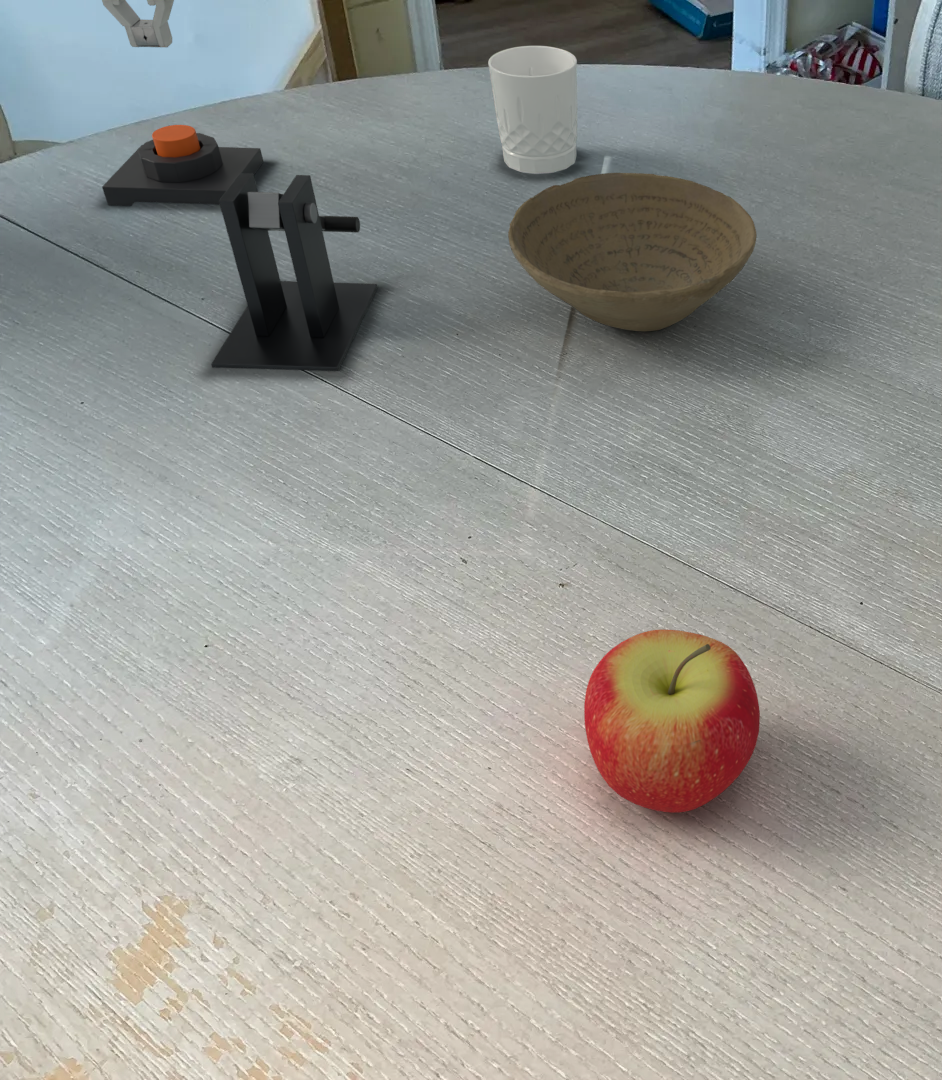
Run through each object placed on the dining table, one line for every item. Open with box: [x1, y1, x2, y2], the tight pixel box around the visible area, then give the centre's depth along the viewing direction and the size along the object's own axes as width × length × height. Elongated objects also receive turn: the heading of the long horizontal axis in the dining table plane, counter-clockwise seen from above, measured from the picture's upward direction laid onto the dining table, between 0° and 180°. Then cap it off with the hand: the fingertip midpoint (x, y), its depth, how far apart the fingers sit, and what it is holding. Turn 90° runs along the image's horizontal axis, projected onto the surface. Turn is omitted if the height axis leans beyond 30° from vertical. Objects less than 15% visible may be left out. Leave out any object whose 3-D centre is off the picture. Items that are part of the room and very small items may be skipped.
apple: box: [583, 629, 761, 813], centre depth 56 cm, size 8×8×10 cm
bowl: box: [507, 172, 758, 332], centre depth 89 cm, size 18×18×8 cm
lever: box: [247, 191, 361, 233], centre depth 87 cm, size 12×6×2 cm
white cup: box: [487, 45, 578, 175], centre depth 109 cm, size 8×8×10 cm
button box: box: [101, 132, 265, 207], centre depth 106 cm, size 11×9×4 cm
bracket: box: [211, 173, 379, 372], centre depth 85 cm, size 12×9×12 cm
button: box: [151, 124, 200, 157], centre depth 104 cm, size 4×4×2 cm
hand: (152, 45), depth 99 cm, fingers closed
